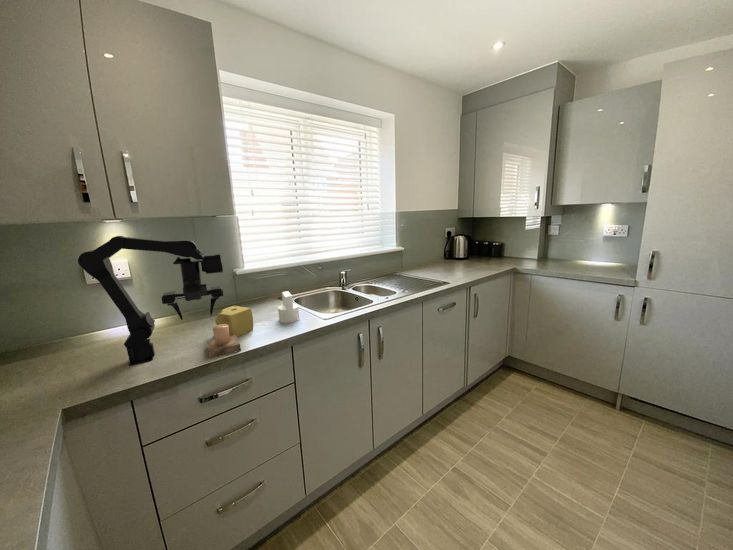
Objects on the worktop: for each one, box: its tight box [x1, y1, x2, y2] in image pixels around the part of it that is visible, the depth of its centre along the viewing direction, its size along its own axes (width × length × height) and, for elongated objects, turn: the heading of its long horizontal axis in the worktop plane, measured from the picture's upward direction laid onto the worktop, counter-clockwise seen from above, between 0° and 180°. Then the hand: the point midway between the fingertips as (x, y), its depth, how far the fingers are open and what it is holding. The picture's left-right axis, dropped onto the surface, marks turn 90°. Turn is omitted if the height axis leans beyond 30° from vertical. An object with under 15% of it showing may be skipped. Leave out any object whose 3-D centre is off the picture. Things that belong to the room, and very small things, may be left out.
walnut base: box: [206, 335, 242, 359], centre depth 107 cm, size 10×10×3 cm
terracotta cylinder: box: [212, 324, 230, 345], centre depth 106 cm, size 5×5×6 cm
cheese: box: [214, 305, 254, 338], centre depth 121 cm, size 10×11×10 cm
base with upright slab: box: [277, 290, 300, 324], centre depth 134 cm, size 9×9×12 cm
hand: (196, 317), depth 108 cm, fingers open, 9 cm apart
